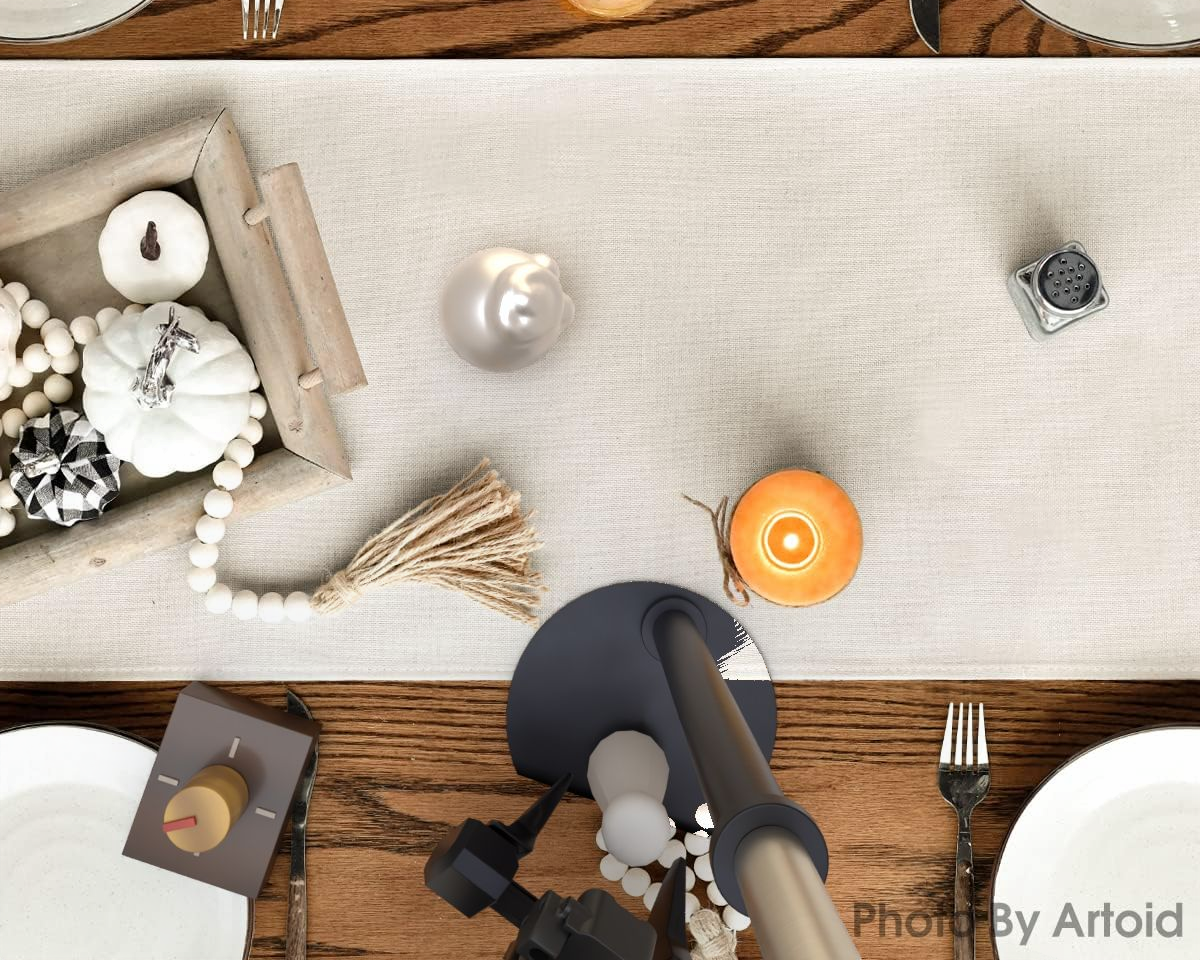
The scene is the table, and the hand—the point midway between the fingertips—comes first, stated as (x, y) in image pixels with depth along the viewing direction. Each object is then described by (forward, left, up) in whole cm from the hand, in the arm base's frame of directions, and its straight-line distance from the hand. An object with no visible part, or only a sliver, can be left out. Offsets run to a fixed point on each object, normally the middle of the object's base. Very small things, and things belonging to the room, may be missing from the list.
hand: (624, 817), depth 68 cm
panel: (-10, +27, -9) cm, 30 cm away
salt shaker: (+1, 0, -8) cm, 9 cm away
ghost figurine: (+29, +19, -9) cm, 36 cm away
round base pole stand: (+4, 0, -9) cm, 10 cm away
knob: (-10, +27, -6) cm, 29 cm away
